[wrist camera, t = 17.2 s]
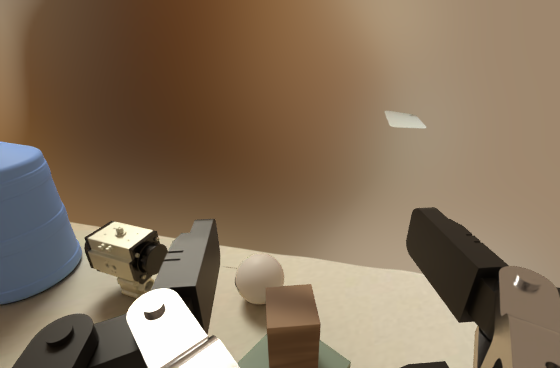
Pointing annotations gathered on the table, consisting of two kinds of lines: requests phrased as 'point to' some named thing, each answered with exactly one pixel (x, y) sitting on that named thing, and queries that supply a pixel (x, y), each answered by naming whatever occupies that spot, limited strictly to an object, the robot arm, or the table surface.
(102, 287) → the table surface
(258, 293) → the seamed sphere
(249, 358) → the stub base
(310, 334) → the brown wooden block
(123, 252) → the pneumatic valve
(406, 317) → the table surface
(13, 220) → the water jug
